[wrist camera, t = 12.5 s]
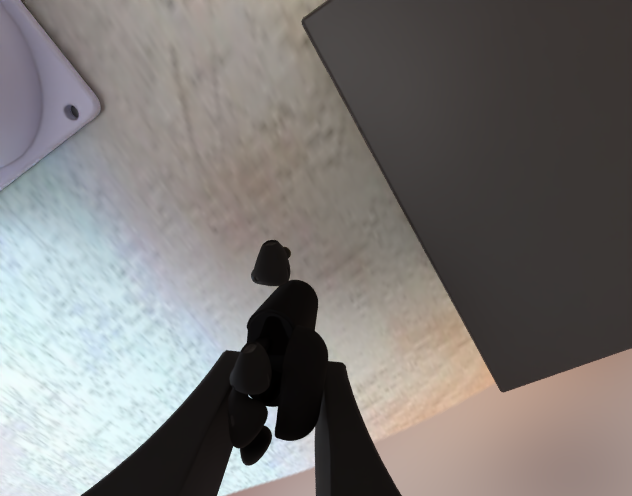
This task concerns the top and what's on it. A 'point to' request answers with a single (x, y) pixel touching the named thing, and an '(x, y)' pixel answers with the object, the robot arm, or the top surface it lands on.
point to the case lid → (503, 160)
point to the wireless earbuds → (277, 361)
